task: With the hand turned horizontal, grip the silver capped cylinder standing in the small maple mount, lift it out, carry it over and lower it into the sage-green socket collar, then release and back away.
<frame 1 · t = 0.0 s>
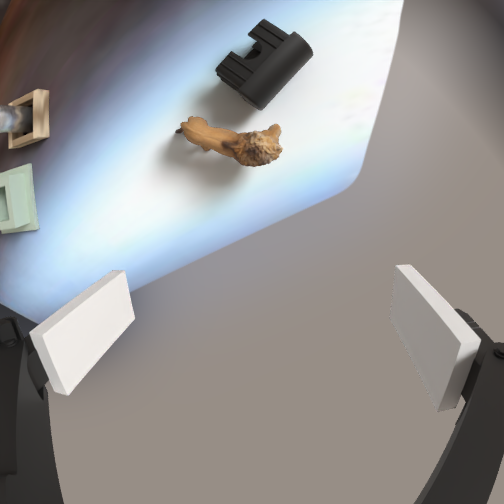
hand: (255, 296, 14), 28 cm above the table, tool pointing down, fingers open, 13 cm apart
silver capped cylinder: (33, 119, 41), resting in mount
lion figurine: (233, 139, 39), on the table
mount: (33, 119, 41), on the table
socket: (16, 200, 45), on the table
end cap: (267, 72, 36), on the table
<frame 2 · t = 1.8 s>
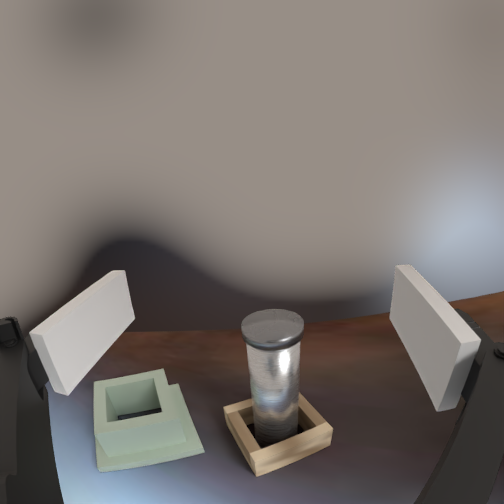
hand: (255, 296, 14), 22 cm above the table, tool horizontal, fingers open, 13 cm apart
silver capped cylinder: (276, 436, 30), resting in mount
mount: (276, 435, 30), on the table
socket: (143, 428, 31), on the table
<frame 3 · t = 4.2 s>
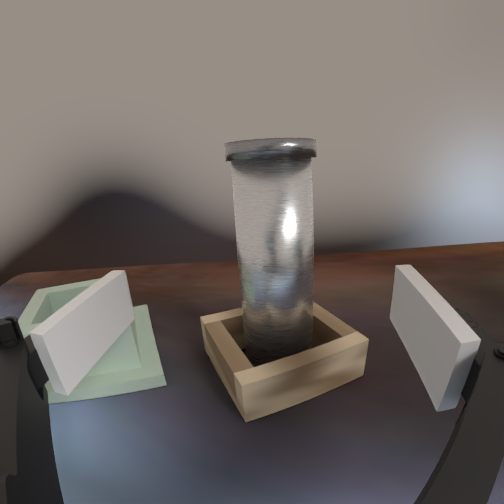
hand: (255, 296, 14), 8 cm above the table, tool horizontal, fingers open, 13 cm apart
silver capped cylinder: (278, 364, 21), resting in mount
mount: (278, 364, 21), on the table
socket: (89, 354, 23), on the table
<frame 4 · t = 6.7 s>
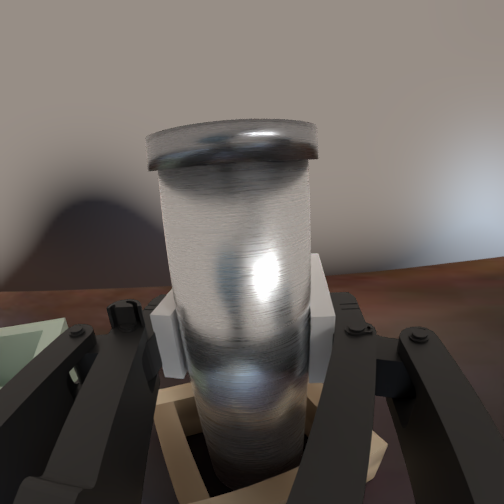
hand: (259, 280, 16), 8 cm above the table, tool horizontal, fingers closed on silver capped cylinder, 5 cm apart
silver capped cylinder: (257, 459, 13), resting in mount, touching gripper
mount: (257, 459, 13), on the table
socket: (27, 417, 14), on the table
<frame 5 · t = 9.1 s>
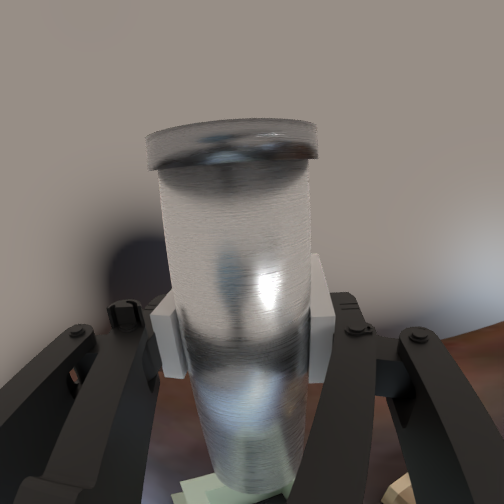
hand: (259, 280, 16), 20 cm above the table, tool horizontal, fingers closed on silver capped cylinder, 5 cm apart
silver capped cylinder: (257, 459, 13), point 12 cm above the table, touching gripper
mount: (443, 500, 16), on the table
when the fingers open (9 cm above the table, at t = 11.7 s): silver capped cylinder drops 1 cm, resting in socket.
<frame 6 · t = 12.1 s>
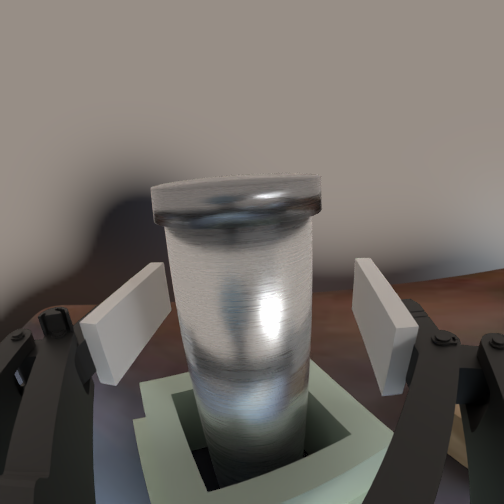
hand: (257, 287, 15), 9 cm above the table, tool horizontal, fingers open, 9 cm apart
silver capped cylinder: (258, 473, 14), resting in socket
mount: (495, 426, 13), on the table
socket: (258, 473, 14), on the table
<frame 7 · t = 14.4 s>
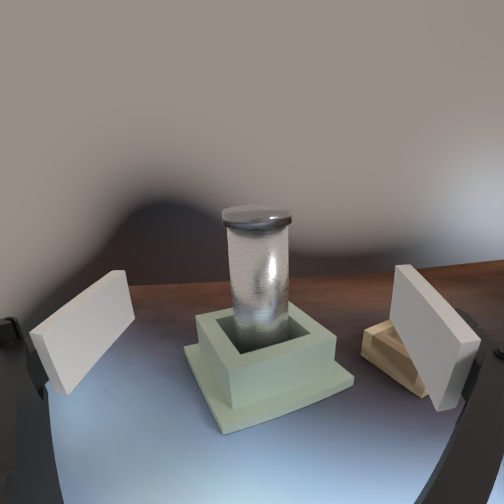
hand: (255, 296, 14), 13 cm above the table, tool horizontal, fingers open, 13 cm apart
silver capped cylinder: (262, 372, 27), resting in socket
mount: (417, 359, 27), on the table
socket: (262, 371, 28), on the table
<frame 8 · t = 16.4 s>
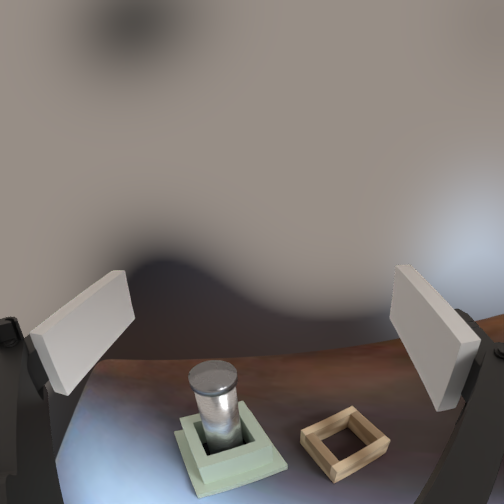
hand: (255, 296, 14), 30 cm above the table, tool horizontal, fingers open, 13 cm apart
silver capped cylinder: (227, 453, 35), resting in socket
mount: (342, 449, 34), on the table
socket: (227, 453, 35), on the table
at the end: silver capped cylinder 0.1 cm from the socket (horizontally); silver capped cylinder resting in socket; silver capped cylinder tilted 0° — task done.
